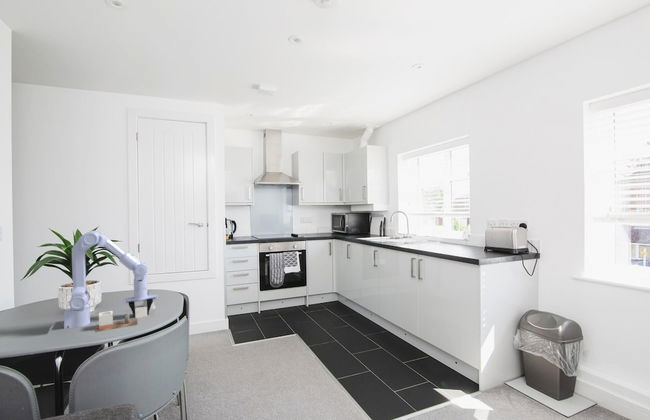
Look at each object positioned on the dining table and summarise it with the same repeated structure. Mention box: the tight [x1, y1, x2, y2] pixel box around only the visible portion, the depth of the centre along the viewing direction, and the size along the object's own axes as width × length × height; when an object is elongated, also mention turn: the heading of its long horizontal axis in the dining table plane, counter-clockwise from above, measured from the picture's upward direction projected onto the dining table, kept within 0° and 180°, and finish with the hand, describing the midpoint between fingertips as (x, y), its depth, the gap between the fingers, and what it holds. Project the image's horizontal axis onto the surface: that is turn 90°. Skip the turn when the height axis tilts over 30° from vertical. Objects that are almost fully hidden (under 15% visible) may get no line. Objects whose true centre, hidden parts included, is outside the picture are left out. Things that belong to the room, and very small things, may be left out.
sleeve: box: [134, 304, 148, 319], centre depth 160 cm, size 5×5×6 cm
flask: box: [142, 290, 157, 311], centre depth 172 cm, size 7×7×10 cm
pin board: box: [94, 313, 138, 333], centre depth 148 cm, size 16×10×6 cm, turn 122°
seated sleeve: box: [98, 310, 114, 330], centre depth 146 cm, size 5×5×6 cm
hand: (141, 315), depth 160 cm, fingers closed on sleeve, 5 cm apart
